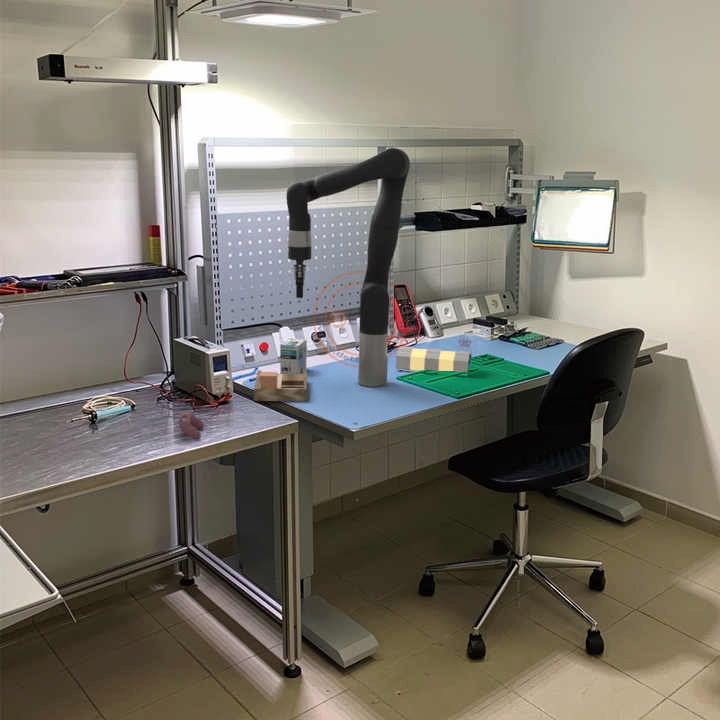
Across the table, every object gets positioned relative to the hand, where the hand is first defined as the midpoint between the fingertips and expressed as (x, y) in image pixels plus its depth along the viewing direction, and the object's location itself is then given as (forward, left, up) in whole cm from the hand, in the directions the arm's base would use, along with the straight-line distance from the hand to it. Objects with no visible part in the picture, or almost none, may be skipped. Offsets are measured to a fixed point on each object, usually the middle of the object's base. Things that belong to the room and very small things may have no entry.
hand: (299, 297), depth 266 cm
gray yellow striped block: (-47, -9, -28) cm, 55 cm away
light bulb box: (+2, -6, -27) cm, 28 cm away
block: (+9, +25, -24) cm, 36 cm away
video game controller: (+28, +58, -27) cm, 70 cm away
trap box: (+6, +17, -27) cm, 32 cm away
